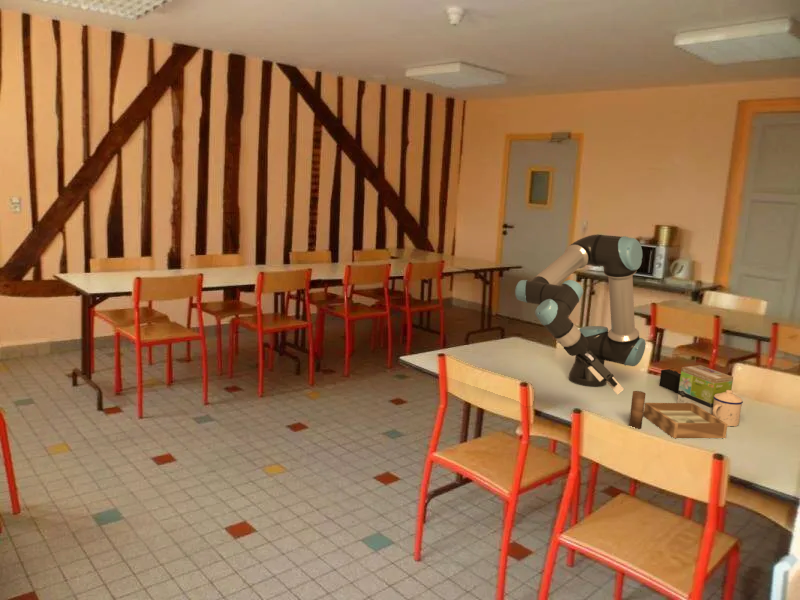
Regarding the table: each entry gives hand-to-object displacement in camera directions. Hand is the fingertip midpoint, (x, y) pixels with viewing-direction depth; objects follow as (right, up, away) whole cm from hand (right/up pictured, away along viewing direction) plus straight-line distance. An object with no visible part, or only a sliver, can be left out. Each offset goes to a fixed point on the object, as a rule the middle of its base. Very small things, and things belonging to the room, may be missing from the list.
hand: (611, 385), depth 206 cm
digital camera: (+42, -9, +48) cm, 64 cm away
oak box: (+26, -15, +6) cm, 31 cm away
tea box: (+42, -13, +25) cm, 51 cm away
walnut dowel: (+9, -15, +4) cm, 18 cm away
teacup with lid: (+43, -15, +12) cm, 47 cm away
